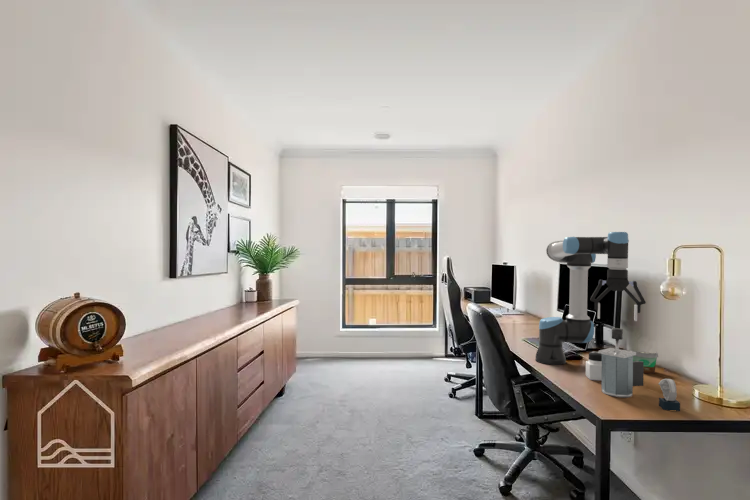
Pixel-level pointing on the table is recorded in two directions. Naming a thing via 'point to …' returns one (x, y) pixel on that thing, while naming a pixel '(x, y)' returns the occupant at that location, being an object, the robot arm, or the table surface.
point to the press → (620, 372)
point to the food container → (646, 361)
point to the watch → (669, 395)
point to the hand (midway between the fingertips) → (616, 319)
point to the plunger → (617, 337)
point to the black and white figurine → (594, 366)
